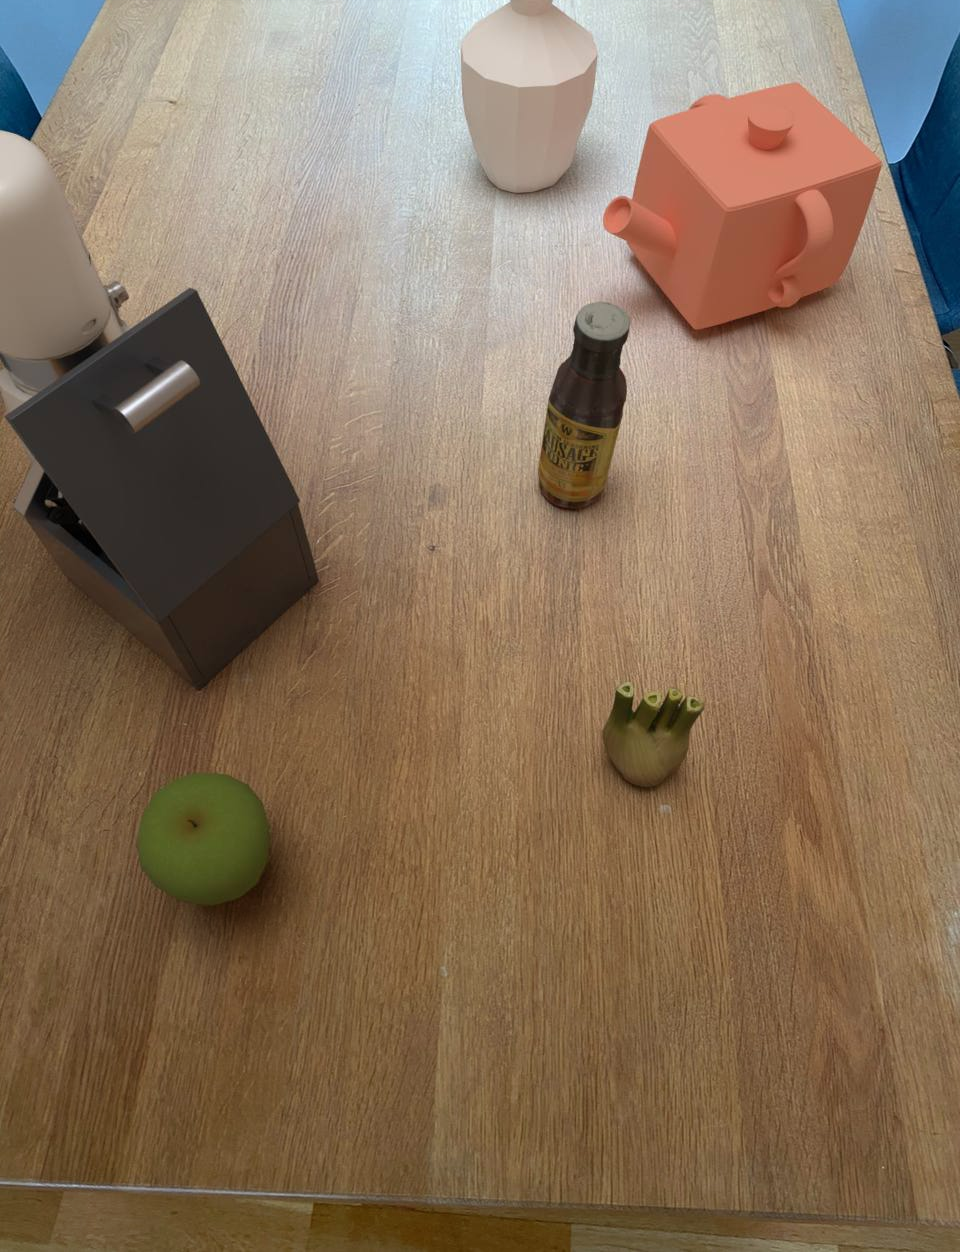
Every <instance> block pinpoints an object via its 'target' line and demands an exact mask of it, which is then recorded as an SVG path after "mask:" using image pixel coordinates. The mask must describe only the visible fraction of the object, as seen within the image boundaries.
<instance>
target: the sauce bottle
mask: <svg viewBox="0 0 960 1252" xmlns="http://www.w3.org/2000/svg"><path fill="white" fill-rule="evenodd" d="M630 326H631V321H630V317H629V315H628V314H627V313H626V311H625V310H624V309H623V308H621V307H620V306H618V305H616V304H613V303H611V302H607V301H596V302H590V303H587V304H586V305H583V306H582V307H581V308H580V309H579V310H578V312H577V313H576V316H575V320H574V323H573V326H572V327H573V329H572V332H573V336H574V340H573V344H572V351H571V352H570V355H569V356H568V357H567V358H566V359H565V360H564V361H563V362H562V363H561V364H560V365H559V367H558V368H557V371H556V374H555V376H554V380H553V383H552V386H551V390H550V392H549V396H548V401H547V407H546V413H545V419H544V420H545V421H544V426H543V427H544V428H543V434H542V439H541V446H540V453H539V454H540V455H539V459H538V468H537V476H538V487H539V490H540V491H541V493H542V494H543V496H544V497H545V499H547V501H548V502H549V503H552V504H553V505H554V506H558V507H559V508H563V509H573V510H580V509H583V508H585V507H587V506H589V505H590V504H592V503H594V502H596V501H597V500H599V498H600V496H601V494H602V492H603V490H604V489H605V487H606V484H607V481H608V477H609V473H610V468H611V464H612V460H613V457H614V452H615V448H616V443H617V440H618V437H619V431H620V429H621V424H622V420H623V416H624V407H625V403H626V401H627V395H628V385H627V379H626V376H625V373H624V372H623V370H622V369H621V367H620V366H621V359H622V358H621V357H622V352H623V347H624V345H625V344H626V342H627V340H628V337H629V333H630Z"/></svg>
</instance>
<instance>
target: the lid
mask: <svg viewBox="0 0 960 1252" xmlns="http://www.w3.org/2000/svg"><path fill="white" fill-rule="evenodd" d="M207 310H208V309H207V308H206V307H205V304H204V303H203V300H202V299H201V296H200V294H199V292H198V290H197V289H196V288H192V287H188V288H187V289H185V290H184V291H182V292H181V293H179V294H178V295H177V296H175V297H174V298H172V299H171V300H170V301H168V302H166V303H165V304H164V305H162V306H161V307H160V308H158V309H157V310H155V311H154V312H153V313H151V314H149V315H148V316H147V317H145V318H143V320H141V321H139V322H138V323H137V324H135V325H134V326H132V327H130V328H131V329H129V330H128V331H126V332H125V333H124V334H122V335H121V336H119V337H118V338H116V339H115V340H114V341H112V342H111V343H109V344H108V345H106V346H105V347H103V348H102V349H101V350H99V351H98V352H96V353H95V354H93V355H92V356H91V357H89V358H88V359H86V360H85V361H83V362H82V363H80V364H79V365H78V366H76V367H75V368H73V369H72V370H70V371H69V372H68V373H66V374H65V375H63V376H62V377H60V378H59V379H57V380H56V381H55V382H53V383H52V384H50V385H49V386H47V387H46V388H44V389H43V390H42V391H40V392H39V393H37V394H36V395H34V396H33V397H32V398H30V399H29V400H27V401H26V402H24V403H23V404H21V405H20V406H19V407H17V408H16V409H14V410H13V411H11V412H10V413H7V414H5V416H4V418H5V420H6V421H7V422H8V424H9V426H10V427H11V428H12V429H13V431H14V432H15V433H16V435H17V436H18V438H19V437H20V438H19V440H20V439H21V440H22V441H23V443H24V444H25V445H26V447H27V448H28V449H29V451H30V452H31V453H32V455H33V456H34V458H35V459H36V460H37V462H38V463H39V464H40V466H41V467H42V468H43V470H44V471H45V472H46V474H47V475H48V476H49V478H50V479H51V480H52V482H53V483H54V485H55V486H56V487H57V489H58V490H59V491H60V493H61V494H62V495H63V497H64V498H65V499H66V501H67V502H68V503H69V505H70V506H71V507H72V509H73V510H74V512H75V513H76V514H77V516H78V517H79V518H80V520H81V521H82V522H83V524H84V525H85V526H86V528H87V529H88V530H89V532H90V533H91V534H92V536H93V537H94V539H95V540H96V541H97V543H98V544H99V545H100V547H101V548H102V549H103V551H104V552H105V553H106V555H107V556H108V557H109V559H110V560H111V561H112V563H113V564H114V566H115V567H116V568H117V570H118V571H119V572H120V574H121V575H122V576H123V578H124V579H125V580H126V582H127V583H128V584H129V586H130V587H131V588H132V590H133V591H134V593H135V594H136V595H137V597H138V598H139V599H140V601H141V602H142V603H143V605H144V606H145V607H146V609H147V610H148V611H149V613H150V614H151V615H152V617H153V618H154V619H155V620H157V621H158V622H160V621H162V620H163V619H164V618H165V617H166V616H167V615H169V614H170V613H171V612H172V611H173V610H174V609H176V608H177V607H178V606H179V605H180V604H181V603H183V602H184V601H185V600H186V599H187V598H188V597H189V596H191V595H192V594H193V593H194V592H195V591H196V590H198V589H199V588H200V587H201V586H202V585H203V584H205V583H206V582H207V581H208V580H209V579H210V578H212V577H213V576H214V575H215V574H216V573H217V572H219V571H220V570H221V569H222V568H223V567H224V566H225V565H227V564H228V563H229V562H230V561H231V560H232V559H234V558H235V557H236V556H237V555H238V554H239V553H241V552H242V551H243V550H244V549H245V548H246V547H248V546H249V545H250V544H251V543H252V542H253V541H255V540H256V539H257V538H258V537H259V536H260V535H261V534H263V533H264V532H265V531H266V530H267V529H268V528H270V527H271V526H272V525H273V524H274V523H275V522H277V521H278V520H279V519H280V518H281V517H282V516H284V515H285V514H286V513H287V512H288V511H289V510H291V509H292V508H293V507H294V506H295V505H296V504H297V503H298V504H299V503H300V502H301V499H300V498H299V495H298V494H297V491H296V489H295V487H294V485H293V483H292V482H291V479H290V477H289V475H288V473H287V471H286V469H285V467H284V465H283V463H282V461H281V459H280V457H279V455H278V453H277V451H276V449H275V447H274V445H273V443H272V441H271V438H270V437H269V435H268V432H267V431H266V429H265V427H264V425H263V423H262V422H263V421H261V418H260V416H259V415H258V413H257V410H256V407H254V404H253V402H252V400H251V398H250V396H249V394H248V392H247V390H246V387H245V385H244V383H243V382H242V380H241V377H240V376H239V374H238V371H237V370H236V368H235V365H234V363H233V362H232V359H231V357H230V355H229V353H228V351H227V349H226V347H225V345H224V343H223V341H222V338H221V337H220V335H219V334H218V331H217V329H216V327H215V325H214V323H213V320H212V318H211V317H210V315H209V313H208V311H207ZM21 440H20V441H21Z"/></svg>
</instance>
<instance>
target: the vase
mask: <svg viewBox="0 0 960 1252" xmlns="http://www.w3.org/2000/svg"><path fill="white" fill-rule="evenodd" d="M553 1H554V0H509V2H507V3H505V4H504V5H502V6H501V7H499V8H497V9H496V10H494V11H493V12H491V13H489V14H488V15H487V16H484V17H483V18H482V19H480V20H478V21H477V22H475V23H474V24H473V25H472V27H471V28H470V29H469V30H468V31H467V32H466V34H465V35H464V37H462V39H461V40H460V77H461V97H462V104H463V113H464V118H465V121H466V125H467V128H468V133H469V135H470V139H471V143H472V147H473V150H474V153H475V155H476V156H477V158H478V160H479V162H480V164H481V167H482V168H483V170H484V173H485V174H486V176H487V179H488V181H489V182H490V183H491V184H493V185H494V186H495V187H496V188H497V189H499V190H502V191H504V192H505V191H507V192H510V193H513V194H519V193H520V194H523V193H534V192H536V191H540V190H543V189H546V188H549V187H553V186H555V184H556V183H557V182H558V181H559V180H560V178H561V177H562V176H563V175H564V174H565V173H566V171H568V169H569V168H570V167H571V165H572V162H573V160H574V157H575V155H576V150H577V145H578V142H579V139H580V137H581V135H582V131H583V129H584V126H585V123H586V122H587V121H586V120H587V118H588V116H589V113H590V110H591V107H592V104H593V98H594V91H595V84H596V76H597V75H596V74H597V66H598V58H599V53H598V49H597V45H596V42H595V39H594V35H593V33H592V32H591V31H589V30H588V29H586V28H585V27H584V26H582V25H581V24H580V23H578V22H577V21H576V20H574V19H573V18H572V17H570V16H569V15H567V14H566V13H565V12H564V11H563V10H561V9H560V8H559V7H558V6H556V5H554V3H553Z"/></svg>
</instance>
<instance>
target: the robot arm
mask: <svg viewBox="0 0 960 1252" xmlns="http://www.w3.org/2000/svg"><path fill="white" fill-rule="evenodd" d="M128 300H130V295H129V293H128V291H127V289H126V288H125V287H124V285H123V284H122V283H120V282H119V281H117V280H114V281H112V282H111V283H109V284H108V285H107V284H103V282H102V279H101V277H100V275H99V272H98V271H97V268H96V265H95V263H94V260H93V258H92V256H91V254H90V251H89V249H88V246H87V244H86V242H85V239H84V237H83V235H82V232H81V230H80V227H79V225H78V223H77V220H76V218H75V216H74V214H73V211H72V209H71V207H70V205H69V202H68V199H67V197H66V195H65V192H64V190H63V188H62V186H61V183H60V180H59V178H58V176H57V174H56V172H55V170H54V168H53V165H52V164H51V162H50V160H49V159H48V158H47V156H46V155H45V154H44V152H42V151H41V149H39V147H38V146H37V145H35V144H34V143H33V142H32V141H30V140H28V139H26V138H25V137H24V136H21V135H19V134H17V133H13V132H10V131H5V130H1V129H0V362H1V363H2V365H3V368H1V369H0V394H1V396H2V400H3V402H4V406H5V408H6V411H7V414H9V413H10V412H11V411H13V410H14V409H16V408H17V407H19V406H20V405H21V404H23V403H24V402H26V401H27V400H29V399H30V398H32V397H33V396H34V395H36V394H37V393H39V392H40V391H42V390H43V389H44V388H46V387H47V386H49V385H50V384H52V383H53V382H55V381H56V380H57V379H59V378H60V377H62V376H63V375H65V374H66V373H68V372H69V371H70V370H72V369H73V368H75V367H76V366H78V365H79V364H80V363H82V362H83V361H85V360H86V359H88V358H89V357H91V356H92V355H93V354H95V353H96V352H98V351H99V350H101V349H102V348H103V347H105V346H106V345H108V344H109V343H111V342H112V341H114V340H115V339H116V338H118V337H119V336H121V335H122V334H124V333H125V332H126V331H128V330H129V329H131V328H132V327H130V326H129V325H128V323H127V322H125V321H124V320H123V319H121V316H120V314H119V312H120V311H119V310H120V308H122V307H123V304H124V303H125V302H128ZM18 438H19V440H20V443H21V444H22V446H23V449H24V450H25V452H26V454H27V456H28V458H29V460H30V461H31V463H32V464H31V466H30V469H29V470H28V473H27V475H26V477H25V479H24V481H23V484H22V485H21V488H20V490H19V492H18V494H17V496H16V499H15V500H16V501H15V500H14V501H15V503H14V502H13V510H14V511H16V513H18V514H19V515H20V516H21V517H23V518H24V519H25V520H26V519H27V520H36V521H51V522H52V523H54V524H75V523H76V524H77V526H78V527H79V529H80V530H81V532H82V534H83V535H84V536H85V537H86V538H87V539H88V540H89V541H90V542H91V543H92V544H93V545H95V546H96V545H98V543H97V541H96V540H95V539H94V537H93V536H92V534H91V533H90V532H89V530H88V529H87V528H86V526H85V525H84V524H83V522H82V521H81V520H80V518H79V517H78V516H77V514H76V513H75V512H74V510H73V509H72V507H71V506H70V505H69V503H68V502H67V501H66V499H65V498H64V497H63V495H62V494H61V493H60V491H58V498H47V496H48V494H49V492H50V490H51V488H52V485H53V482H52V480H51V479H50V478H49V476H48V475H47V474H46V472H45V471H44V470H43V468H42V467H41V466H40V464H39V463H38V462H37V460H36V459H35V458H34V456H33V455H32V453H31V452H30V451H29V449H28V448H27V447H26V445H25V444H24V443H23V441H22V440H21V439H20V437H19V436H18Z"/></svg>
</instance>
